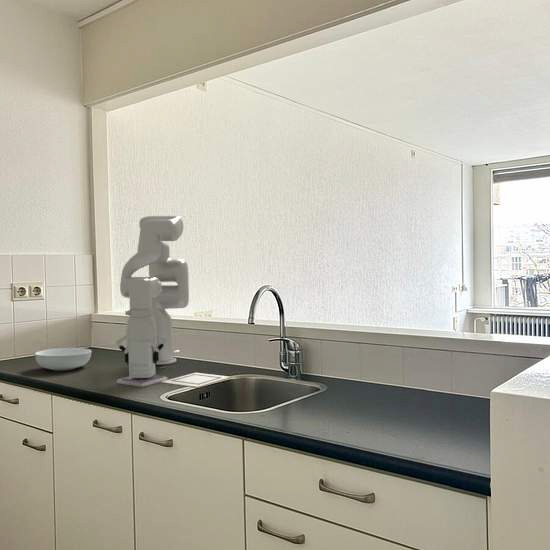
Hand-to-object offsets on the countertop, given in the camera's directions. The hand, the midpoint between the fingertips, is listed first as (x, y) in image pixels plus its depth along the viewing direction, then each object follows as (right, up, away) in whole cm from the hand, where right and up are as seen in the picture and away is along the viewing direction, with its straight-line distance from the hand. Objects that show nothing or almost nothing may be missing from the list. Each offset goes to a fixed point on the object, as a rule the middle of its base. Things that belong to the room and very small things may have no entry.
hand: (142, 363), depth 197 cm
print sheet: (+19, -6, +1) cm, 20 cm away
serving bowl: (-37, -6, +27) cm, 47 cm away
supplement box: (0, -5, 0) cm, 5 cm away
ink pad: (0, -6, 0) cm, 6 cm away
